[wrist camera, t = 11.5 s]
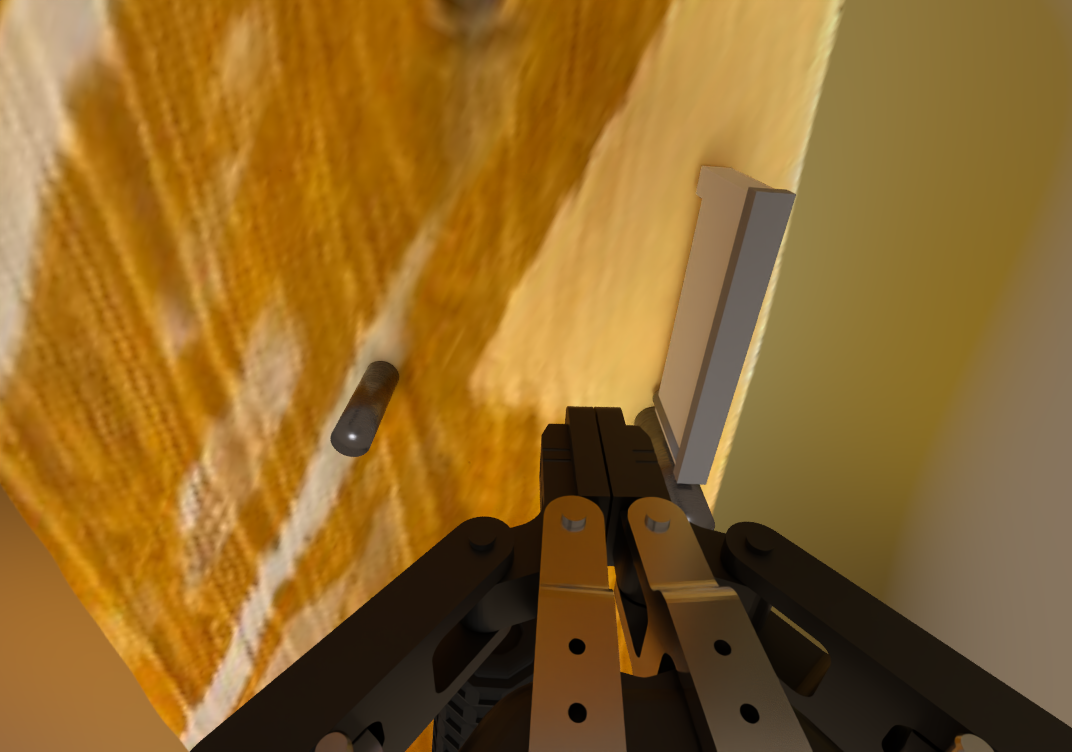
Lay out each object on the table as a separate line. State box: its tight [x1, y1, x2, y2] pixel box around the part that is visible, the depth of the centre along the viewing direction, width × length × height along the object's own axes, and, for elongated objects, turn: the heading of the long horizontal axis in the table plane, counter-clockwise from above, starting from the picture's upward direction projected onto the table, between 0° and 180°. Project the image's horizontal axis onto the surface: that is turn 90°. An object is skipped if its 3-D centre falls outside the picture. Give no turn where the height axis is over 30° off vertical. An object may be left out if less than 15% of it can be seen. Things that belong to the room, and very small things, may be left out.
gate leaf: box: [653, 166, 796, 485], centre depth 31 cm, size 17×2×8 cm, turn 176°
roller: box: [432, 618, 537, 752], centre depth 56 cm, size 38×10×10 cm, turn 172°
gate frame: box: [331, 361, 715, 530], centre depth 35 cm, size 3×24×11 cm, turn 78°
